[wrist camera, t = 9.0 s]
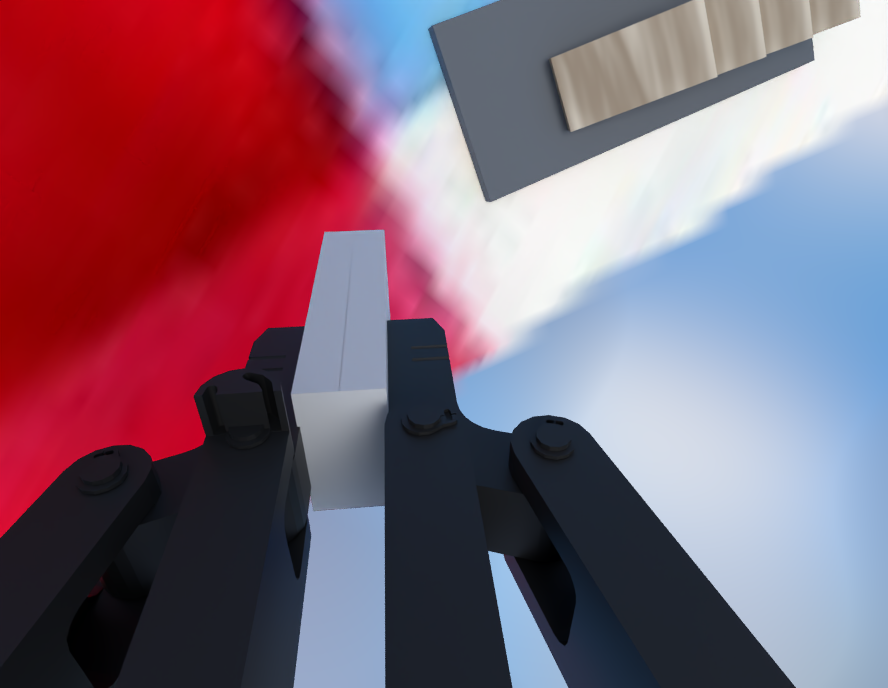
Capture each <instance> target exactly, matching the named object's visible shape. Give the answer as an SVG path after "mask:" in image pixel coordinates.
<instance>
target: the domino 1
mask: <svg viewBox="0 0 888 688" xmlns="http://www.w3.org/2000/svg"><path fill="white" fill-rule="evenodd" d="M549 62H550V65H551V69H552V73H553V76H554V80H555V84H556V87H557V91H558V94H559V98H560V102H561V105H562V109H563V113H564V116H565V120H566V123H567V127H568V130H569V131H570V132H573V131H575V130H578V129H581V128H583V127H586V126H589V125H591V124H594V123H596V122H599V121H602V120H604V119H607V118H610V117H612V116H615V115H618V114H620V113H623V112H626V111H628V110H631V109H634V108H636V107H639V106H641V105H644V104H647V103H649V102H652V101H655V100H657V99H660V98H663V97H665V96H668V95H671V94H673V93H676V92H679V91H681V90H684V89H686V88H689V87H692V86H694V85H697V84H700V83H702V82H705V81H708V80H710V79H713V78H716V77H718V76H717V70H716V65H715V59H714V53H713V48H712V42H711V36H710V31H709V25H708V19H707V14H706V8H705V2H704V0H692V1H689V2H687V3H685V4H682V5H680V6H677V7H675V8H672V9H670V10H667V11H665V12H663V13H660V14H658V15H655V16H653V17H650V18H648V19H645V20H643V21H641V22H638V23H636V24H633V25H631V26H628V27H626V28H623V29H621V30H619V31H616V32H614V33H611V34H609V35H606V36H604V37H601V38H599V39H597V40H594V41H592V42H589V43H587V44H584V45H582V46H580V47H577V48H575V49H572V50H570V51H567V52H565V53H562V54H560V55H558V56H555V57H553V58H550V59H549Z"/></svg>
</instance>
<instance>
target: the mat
mask: <svg viewBox="0 0 888 688" xmlns="http://www.w3.org/2000/svg"><path fill="white" fill-rule="evenodd" d="M689 1H692V0H500V1H497V2H495V3H492V4H489V5H487V6H484V7H481V8H478V9H476V10H473V11H470V12H468V13H465V14H462V15H460V16H457V17H454V18H452V19H449V20H446V21H444V22H441V23H438V24H436V25H433V26H432V27H430V28H429V32H430V35H431V38H432V41H433V44H434V47H435V50H436V53H437V56H438V59H439V62H440V65H441V68H442V71H443V74H444V77H445V80H446V83H447V86H448V89H449V92H450V95H451V98H452V101H453V104H454V107H455V110H456V113H457V116H458V119H459V122H460V125H461V128H462V131H463V134H464V137H465V140H466V143H467V146H468V149H469V152H470V155H471V158H472V161H473V164H474V167H475V170H476V173H477V176H478V179H479V182H480V185H481V188H482V191H483V194H484V197H485V200H486V201H487V202H492V201H494V200H496V199H499V198H501V197H503V196H506V195H508V194H510V193H512V192H515V191H517V190H519V189H522V188H524V187H526V186H528V185H531V184H533V183H535V182H537V181H540V180H542V179H544V178H547V177H549V176H551V175H553V174H556V173H558V172H560V171H563V170H565V169H567V168H569V167H572V166H574V165H576V164H579V163H581V162H583V161H585V160H588V159H590V158H592V157H594V156H597V155H599V154H601V153H604V152H606V151H608V150H610V149H613V148H615V147H617V146H620V145H622V144H624V143H626V142H629V141H631V140H633V139H636V138H638V137H640V136H642V135H645V134H647V133H649V132H651V131H654V130H656V129H658V128H661V127H663V126H665V125H667V124H670V123H672V122H674V121H677V120H679V119H681V118H683V117H686V116H688V115H690V114H693V113H695V112H697V111H699V110H702V109H704V108H706V107H708V106H711V105H713V104H715V103H718V102H720V101H722V100H724V99H727V98H729V97H731V96H734V95H736V94H738V93H740V92H743V91H745V90H747V89H750V88H752V87H754V86H756V85H759V84H761V83H763V82H766V81H768V80H770V79H772V78H775V77H777V76H779V75H781V74H784V73H786V72H788V71H791V70H793V69H795V68H797V67H800V66H802V65H804V64H807V63H809V62H811V61H813V60H814V51H813V42H812V38H810V39H807V40H805V41H802V42H799V43H796V44H794V45H791V46H788V47H786V48H783V49H780V50H777V51H775V52H772V53H769V54H767V55H766V57H765V58H762V59H759V60H756V61H754V62H751V63H748V64H746V65H743V66H740V67H738V68H735V69H732V70H730V71H727V72H724V73H721V74H719V75H717V76H718V77H716V78H713V79H710V80H708V81H705V82H702V83H700V84H697V85H694V86H692V87H689V88H686V89H684V90H681V91H679V92H676V93H673V94H671V95H668V96H665V97H663V98H660V99H657V100H655V101H652V102H649V103H647V104H644V105H641V106H639V107H636V108H634V109H631V110H628V111H626V112H623V113H620V114H618V115H615V116H612V117H610V118H607V119H604V120H602V121H599V122H596V123H594V124H591V125H589V126H586V127H583V128H581V129H578V130H575V131H573V132H570V131H569V130H568V127H567V123H566V120H565V116H564V113H563V109H562V105H561V102H560V98H559V94H558V91H557V87H556V84H555V80H554V76H553V73H552V69H551V65H550V62H549V59H550V58H553V57H555V56H558V55H560V54H562V53H565V52H567V51H570V50H572V49H575V48H577V47H580V46H582V45H584V44H587V43H589V42H592V41H594V40H597V39H599V38H601V37H604V36H606V35H609V34H611V33H614V32H616V31H619V30H621V29H623V28H626V27H628V26H631V25H633V24H636V23H638V22H641V21H643V20H645V19H648V18H650V17H653V16H655V15H658V14H660V13H663V12H665V11H667V10H670V9H672V8H675V7H677V6H680V5H682V4H685V3H687V2H689Z"/></svg>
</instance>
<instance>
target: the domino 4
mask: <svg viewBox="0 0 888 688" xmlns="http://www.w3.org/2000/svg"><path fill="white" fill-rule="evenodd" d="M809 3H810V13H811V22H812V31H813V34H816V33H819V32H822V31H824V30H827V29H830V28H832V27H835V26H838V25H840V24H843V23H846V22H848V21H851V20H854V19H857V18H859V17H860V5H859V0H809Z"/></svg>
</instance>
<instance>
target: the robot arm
mask: <svg viewBox="0 0 888 688" xmlns="http://www.w3.org/2000/svg"><path fill="white" fill-rule="evenodd" d="M194 399H195V402H196V406H197V409H198V412H199V415H200V418H201V422H202V425H203V428H204V431H205V434H206V438H205V441H204V443H203V445H201V446H199V447H197V448H196V449H193V450H190V451H187V452H185V453H182V454H178V455H175V456H171V457H168V458H164V459H161V460H157V461H154V462H153V461H152V458H151V456H150V455H149V454H148V453H147V452H146V451H145V450H144V449H142V448H139V447H135V446H132V445H117V446H111V447H107V448H103V449H100V450H96V451H94V452H92V453H90V454H88V455H86V456H84V457H82V458H80V459H78V460H77V461H76V462H74V463H73V464H72V465H71V466H69V467H68V468H67V469H66V470H65V471H63V472H62V474H61V475H60V476H59V477H58V478H57V479H56V480H55V481H54V482H53V483H52V484H51V485H50V486H49V487H48V488H47V489H46V490H45V491H44V493H43V494H42V495H41V496H40V497H39V498H38V499H37V500H36V501H35V502H34V503H33V504H32V505H31V506H30V507H29V508H28V509H27V511H26V512H25V513H24V514H23V515H22V516H21V517H20V518H19V519H18V520H17V521H16V522H15V523H14V524H13V525H12V526H11V527H10V529H9V530H8V531H7V532H6V533H5V534H4V535H3V536H2V537H1V538H0V688H293V686H294V677H295V668H296V660H297V651H298V643H299V635H300V626H301V618H302V609H303V601H304V592H305V583H306V575H307V566H308V558H309V550H310V541H311V532H310V525H309V519H308V515H307V514H308V507H309V500H310V496H311V501H312V505H313V510H314V511H321V510H334V509H347V508H360V507H373V506H385V675H386V676H385V685H386V686H385V688H512V683H511V677H510V672H509V666H508V660H507V655H506V649H505V644H504V638H503V633H502V627H501V621H500V616H499V610H498V605H497V599H496V594H495V588H494V582H493V577H492V571H491V565H490V560H489V554H488V551H492V552H496V553H501V554H504V558H505V561H506V563H507V565H508V567H509V569H510V571H511V573H512V575H513V577H514V579H515V581H516V583H517V585H518V587H519V589H520V591H521V593H522V595H523V597H524V599H525V601H526V603H527V605H528V607H529V609H530V611H531V613H532V615H533V617H534V619H535V621H536V623H537V625H538V627H539V629H540V631H541V633H542V635H543V637H544V639H545V641H546V643H547V645H548V647H549V649H550V651H551V653H552V655H553V657H554V659H555V661H556V663H557V665H558V667H559V669H560V671H561V673H562V675H563V677H564V679H565V681H566V683H567V686H568V688H796V687H795V686H794V685H793V684H792V682H791V681H790V680H789V679H788V678H787V676H786V675H785V674H784V672H783V671H782V670H781V669H780V668H779V666H778V665H777V664H776V663H775V661H774V660H773V659H772V658H771V656H770V655H769V654H768V653H767V652H766V650H765V649H764V648H763V647H762V645H761V644H760V643H759V642H758V641H757V639H756V638H755V637H754V636H753V634H752V633H751V632H750V631H749V629H748V628H747V627H746V626H745V624H744V623H743V622H742V621H741V619H740V618H739V617H738V616H737V615H736V613H735V612H734V611H733V610H732V608H731V607H730V606H729V605H728V603H727V602H726V601H725V600H724V599H723V597H722V596H721V595H720V594H719V592H718V591H717V590H716V589H715V587H714V586H713V585H712V584H711V582H710V581H709V580H708V579H707V578H706V576H705V575H704V574H703V573H702V571H701V570H700V569H699V568H698V566H697V565H696V564H695V563H694V562H693V560H692V559H691V558H690V557H689V555H688V554H687V553H686V552H685V550H684V549H683V548H682V547H681V545H680V544H679V543H678V542H677V541H676V539H675V538H674V537H673V536H672V534H671V533H670V532H669V531H668V529H667V528H666V527H665V526H664V525H663V523H662V522H661V521H660V520H659V518H658V517H657V516H656V515H655V513H654V512H653V511H652V510H651V508H650V507H649V506H648V505H647V504H646V502H645V501H644V500H643V499H642V497H641V496H640V495H639V494H638V492H637V491H636V490H635V489H634V488H633V486H632V485H631V484H630V483H629V482H628V480H627V479H626V478H625V476H624V475H623V474H622V473H621V471H619V469H618V468H617V467H616V465H615V464H614V463H613V462H612V461H611V459H610V458H609V457H608V455H607V454H606V453H605V452H604V451H603V449H602V448H601V447H600V446H599V444H598V443H597V442H596V441H595V439H594V438H593V437H592V436H591V435H590V433H589V432H587V431H586V430H585V429H584V428H583V427H582V426H580V425H579V424H578V423H575V422H573V421H571V420H568V419H566V418H563V417H557V416H551V415H546V416H536V417H532V418H529V419H527V420H525V421H522V422H521V423H520V424H519V425H518V426H517V427H516V428H515V429H514V430H513V432H512V433H506V432H500V431H495V430H491V429H487V428H483V427H481V426H479V425H477V424H475V423H473V422H471V421H470V420H469V419H467V418H466V417H465V416H464V415H463V414H462V412H461V411H460V409H459V407H458V404H457V400H456V394H455V389H454V383H453V377H452V371H451V366H450V360H449V354H448V348H447V343H446V337H445V331H444V329H443V328H442V327H441V326H440V325H439V324H438V323H437V322H436V321H435V320H434V319H433V318H425V319H405V320H390V309H389V294H388V279H387V264H386V249H385V234H384V230H365V231H340V232H324V237H323V242H322V247H321V252H320V256H319V261H318V266H317V271H316V276H315V281H314V285H313V290H312V295H311V300H310V305H309V309H308V314H307V319H306V324H305V326H302V327H283V328H268V329H267V330H266V331H265V332H264V333H263V334H262V335H261V336H260V337H259V338H258V339H257V340H256V341H255V342H254V343H253V346H252V349H251V352H250V355H249V360H248V361H247V364H246V367H245V368H244V369H238V370H232V371H228V372H225V373H223V374H220V375H217V376H215V377H213V378H211V379H210V380H209V381H207V382H206V383H204V384H203V385H201V386H200V388H199V389H198V391H197V392H196V393H195V395H194Z"/></svg>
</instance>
